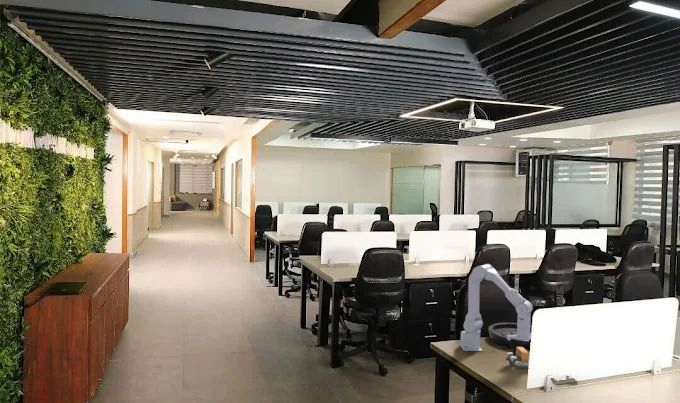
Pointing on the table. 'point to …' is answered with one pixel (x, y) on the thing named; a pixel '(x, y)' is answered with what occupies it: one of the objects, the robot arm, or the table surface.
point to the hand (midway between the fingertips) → (522, 355)
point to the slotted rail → (517, 361)
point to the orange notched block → (522, 353)
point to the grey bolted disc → (500, 335)
